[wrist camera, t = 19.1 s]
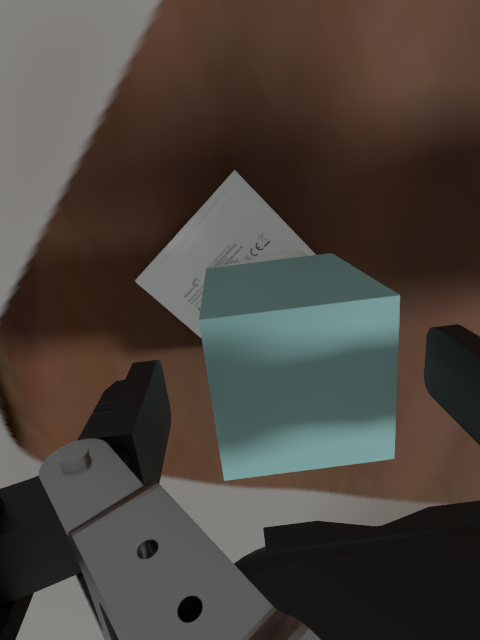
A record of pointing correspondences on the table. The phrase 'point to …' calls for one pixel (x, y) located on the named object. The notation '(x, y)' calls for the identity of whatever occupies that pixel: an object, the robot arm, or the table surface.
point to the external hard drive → (216, 247)
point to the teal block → (300, 364)
